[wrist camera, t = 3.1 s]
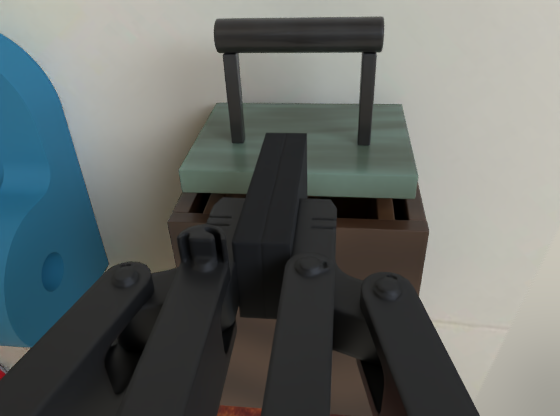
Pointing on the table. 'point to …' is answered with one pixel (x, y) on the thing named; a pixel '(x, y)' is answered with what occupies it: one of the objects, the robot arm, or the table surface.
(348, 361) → the cabinet
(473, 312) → the table surface
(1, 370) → the beverage can
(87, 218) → the camera mount
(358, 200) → the drawer
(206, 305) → the robot arm
